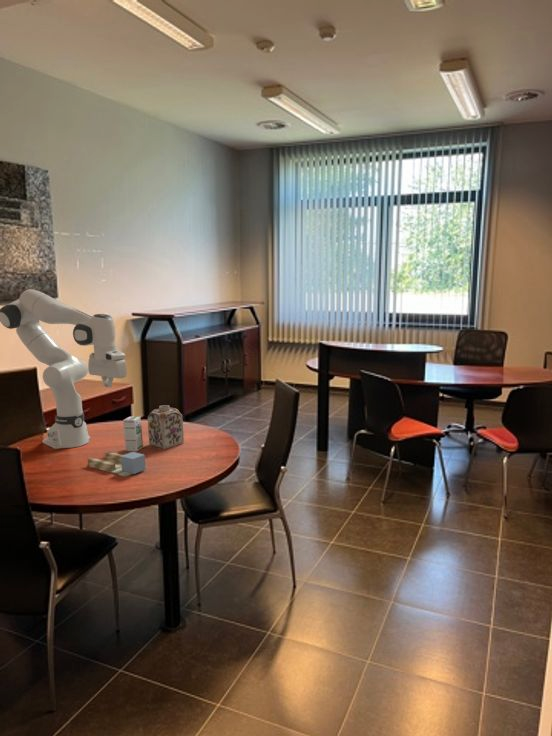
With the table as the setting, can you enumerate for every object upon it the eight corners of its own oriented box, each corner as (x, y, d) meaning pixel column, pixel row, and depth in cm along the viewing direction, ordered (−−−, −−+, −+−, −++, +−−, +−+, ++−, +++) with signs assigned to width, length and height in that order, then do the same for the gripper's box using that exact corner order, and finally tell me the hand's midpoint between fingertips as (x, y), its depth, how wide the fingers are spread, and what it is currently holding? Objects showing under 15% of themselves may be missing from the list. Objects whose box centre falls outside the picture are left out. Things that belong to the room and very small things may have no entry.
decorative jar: (164, 449, 236) (161, 410, 233) (148, 444, 244) (145, 406, 241) (185, 443, 245) (183, 405, 242) (169, 438, 253) (167, 401, 250)
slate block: (121, 470, 210) (120, 456, 209) (133, 466, 215) (132, 451, 214) (133, 474, 206) (132, 459, 205) (145, 469, 211) (144, 454, 210)
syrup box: (137, 451, 235) (135, 419, 232) (125, 451, 236) (122, 419, 233) (143, 447, 240) (141, 416, 238) (131, 447, 241) (128, 416, 239)
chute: (87, 465, 218) (87, 458, 217) (109, 458, 227) (109, 451, 226) (125, 476, 205) (124, 469, 205) (147, 468, 214) (146, 460, 214)
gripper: (83, 353, 222) (85, 385, 224) (115, 356, 210) (118, 390, 213) (95, 351, 227) (98, 383, 229) (128, 354, 215) (130, 387, 218)
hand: (108, 386), depth 221 cm, fingers closed
